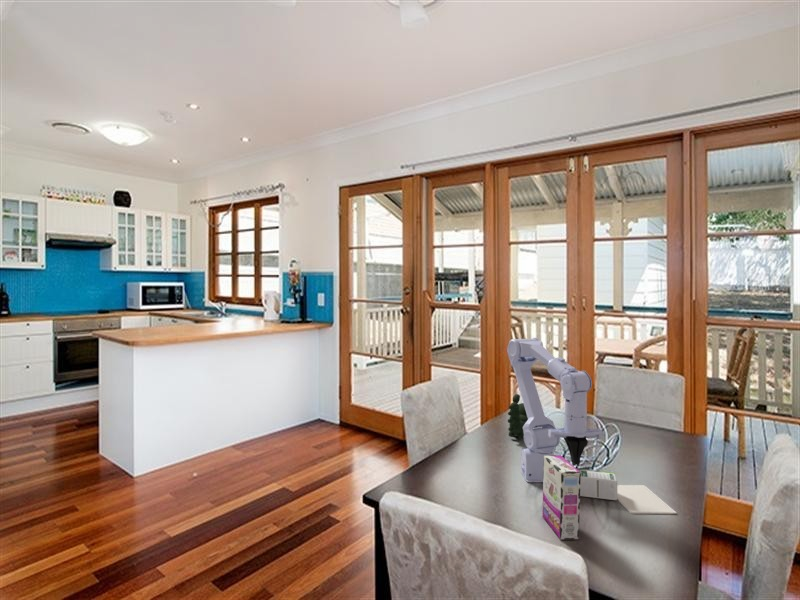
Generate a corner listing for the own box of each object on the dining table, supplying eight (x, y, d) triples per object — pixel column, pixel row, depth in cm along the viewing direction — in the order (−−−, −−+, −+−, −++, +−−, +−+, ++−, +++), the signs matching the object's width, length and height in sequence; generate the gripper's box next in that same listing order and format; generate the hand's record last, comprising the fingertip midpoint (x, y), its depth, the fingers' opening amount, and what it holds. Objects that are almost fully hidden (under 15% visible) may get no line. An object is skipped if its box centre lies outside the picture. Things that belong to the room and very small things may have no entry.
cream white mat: (630, 513, 119) (630, 512, 119) (604, 486, 135) (604, 484, 135) (676, 514, 119) (676, 512, 119) (644, 486, 135) (644, 485, 135)
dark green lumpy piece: (526, 449, 169) (539, 424, 191) (525, 400, 167) (539, 381, 189) (501, 444, 174) (517, 421, 196) (500, 397, 172) (516, 379, 193)
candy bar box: (580, 540, 107) (582, 472, 106) (560, 541, 106) (561, 472, 106) (560, 515, 118) (561, 454, 117) (541, 516, 118) (542, 454, 117)
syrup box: (617, 480, 125) (561, 473, 130) (617, 501, 125) (561, 493, 130) (615, 472, 130) (561, 466, 135) (615, 492, 131) (561, 485, 135)
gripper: (554, 419, 122) (553, 468, 123) (608, 419, 122) (607, 468, 122) (546, 411, 129) (545, 458, 130) (597, 411, 129) (596, 458, 129)
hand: (575, 462), depth 126 cm, fingers closed
